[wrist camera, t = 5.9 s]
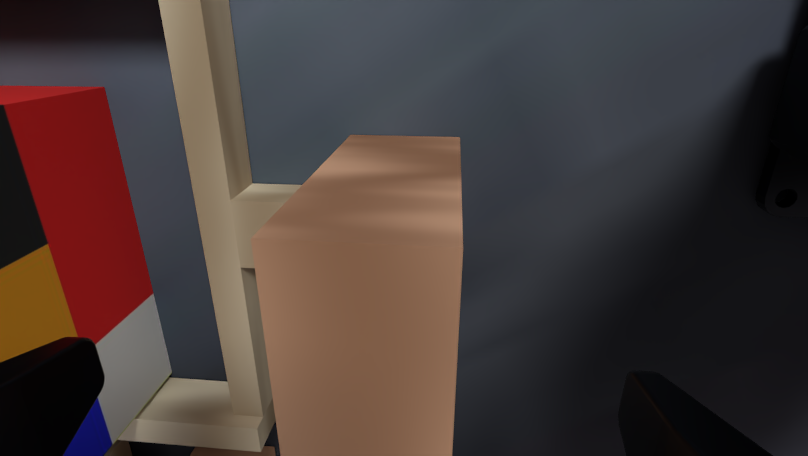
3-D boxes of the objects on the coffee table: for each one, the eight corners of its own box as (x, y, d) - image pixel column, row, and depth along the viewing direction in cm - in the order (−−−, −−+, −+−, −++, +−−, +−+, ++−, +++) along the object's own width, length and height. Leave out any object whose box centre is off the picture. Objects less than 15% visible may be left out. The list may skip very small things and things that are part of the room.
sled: (469, -80, 11) (487, -228, 5) (447, 419, 17) (441, 662, 10) (-314, -64, 13) (-1070, -150, 7) (-89, 378, 19) (-372, 562, 12)
